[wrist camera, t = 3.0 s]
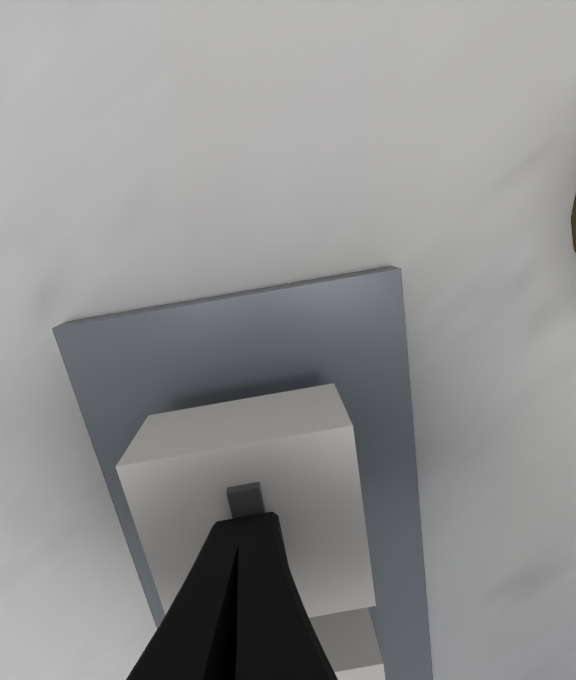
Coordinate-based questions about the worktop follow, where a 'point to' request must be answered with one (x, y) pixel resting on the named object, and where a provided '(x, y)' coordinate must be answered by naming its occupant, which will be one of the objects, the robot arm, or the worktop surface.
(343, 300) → the keypad base
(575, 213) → the cork
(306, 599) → the key three
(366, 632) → the key two
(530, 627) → the worktop surface
